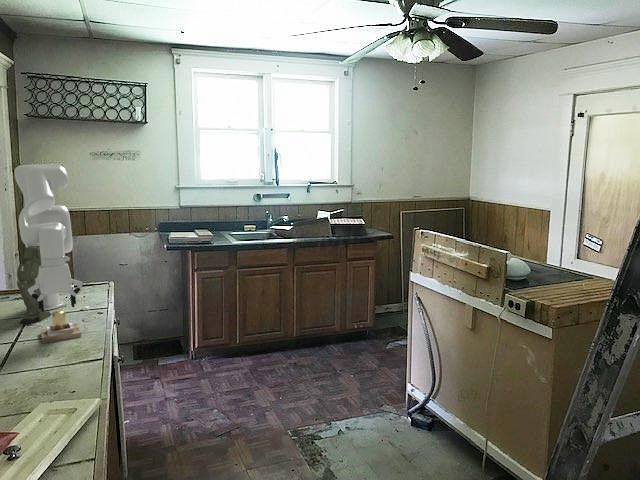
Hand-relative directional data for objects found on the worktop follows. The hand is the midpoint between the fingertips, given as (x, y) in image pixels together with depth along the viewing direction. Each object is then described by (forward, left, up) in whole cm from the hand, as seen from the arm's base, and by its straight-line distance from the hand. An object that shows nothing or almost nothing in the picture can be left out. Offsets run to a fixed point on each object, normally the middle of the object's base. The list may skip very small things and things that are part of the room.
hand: (58, 308), depth 181 cm
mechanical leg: (-25, -6, -10) cm, 28 cm away
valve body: (+1, 0, -8) cm, 8 cm away
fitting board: (+1, 0, -10) cm, 10 cm away
